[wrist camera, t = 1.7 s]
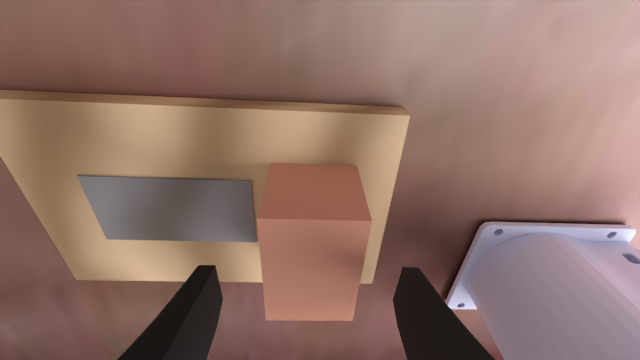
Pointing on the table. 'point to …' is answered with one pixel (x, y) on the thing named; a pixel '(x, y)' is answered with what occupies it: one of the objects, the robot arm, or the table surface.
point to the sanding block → (312, 241)
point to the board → (181, 175)
